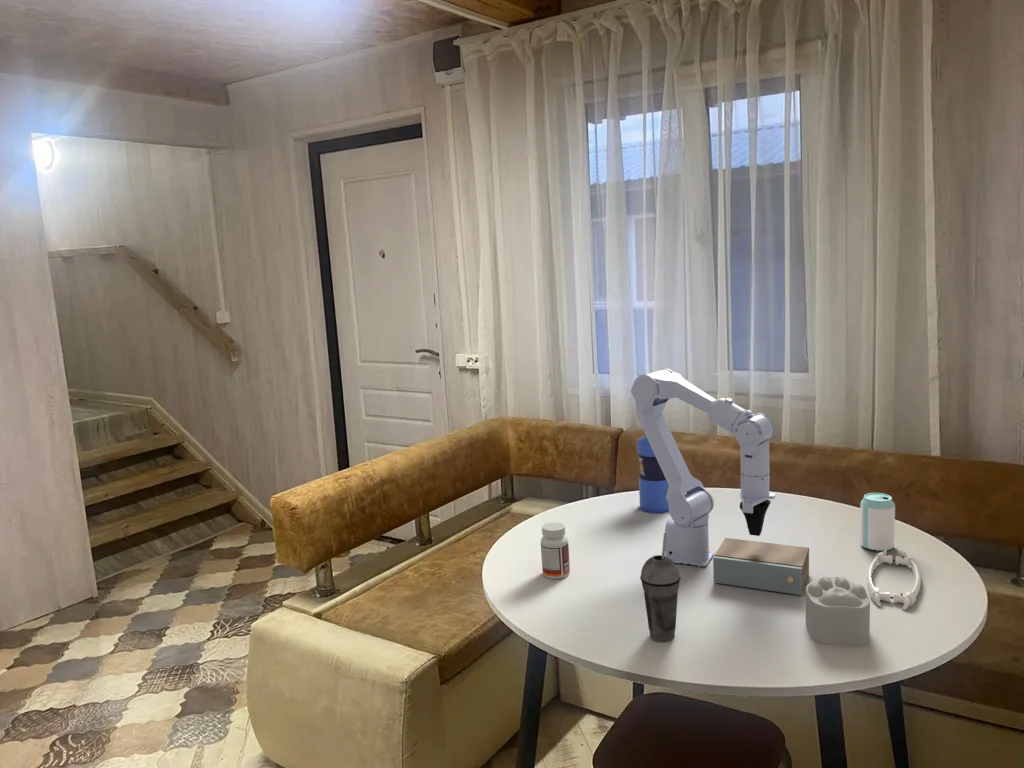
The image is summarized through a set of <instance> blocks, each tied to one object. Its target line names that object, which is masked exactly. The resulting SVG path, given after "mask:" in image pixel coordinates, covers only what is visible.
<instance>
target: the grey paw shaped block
mask: <svg viewBox="0 0 1024 768" xmlns="http://www.w3.org/2000/svg"><path fill="white" fill-rule="evenodd" d="M805 586H806V587H805V627H806V630H807V632H808V635H809V637H810V638H811V639H812V640H813V641H815V642H816V643H818V644H821V645H822V644H823V645H826V646H827V645H828V646H838V645H839V646H840V645H841V646H848V647H849V646H851V647H864V646H866V645H867V644H869V642H870V625H871V623H870V622H871V621H870V620H871V619H870V618H871V617H870V616H871V615H870V614H871V601H870V598H869V597H870V596H869V595H868V593H867V591H866V590H867V589H866V588H865V587H864V586H863V585H861V584H857V583H855V582H852V581H850V580H848V579H847V578H845V577H843V576H822V577H819V578H815V579H813V580H812V581H810V582H809V583H808V584H807V585H805Z"/></svg>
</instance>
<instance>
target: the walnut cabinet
mask: <svg viewBox="0 0 1024 768" xmlns="http://www.w3.org/2000/svg"><path fill="white" fill-rule="evenodd" d="M714 556H718V557H726V558H733V559H741V560H749V561H756V562H764V563H772V564H779V565H787V566H795V567H802V594H803V593H804V590H805V588H806V587H805V586H806V584H807V582H806V581H808V579H809V576H810V547H805V546H798V545H791V544H780V543H774V542H773V543H771V542H764V541H763V542H762V541H757V540H747V539H739V538H729V537H724V540H722V543H721V544H720V546H719V547H718V549H717V550H716V552H714ZM808 575H809V576H808ZM807 578H808V579H807Z"/></svg>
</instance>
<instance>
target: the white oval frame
mask: <svg viewBox="0 0 1024 768" xmlns="http://www.w3.org/2000/svg"><path fill="white" fill-rule="evenodd" d="M887 554H888V551H887V550H884V551H883V552H878V553H877V554H876V555H875V556H874V557H873V560H872V561H871V563H870V565H869V567H868V570H867V573H866V574H867V575H866V582H867V588H868V594H869V595H868V596H869V597H870V598H871V600H872V602H874V601H875V604H876V605H877V606H878V607H879V606H880V607H879V608H881V607H882V603H881V601H884V602H886V603H889V602H891V600H893V604H903V606H902V609H903V610H902V611H906V610H907V609H908V608H909V607H910V606H911V607H912V606H913V605H914V604H915V603H916V602H917V596H918V594H919V592H920V589H921V583H922V581H921V574H920V570H919V568H918V566H917V562H916V560H915V559H914V558H913V557H912V555H910V554H908V553H907V552H906V551H903V555H904V556H903V555H902V556H900V555H895V559H894V558H893V554H892V555H891V554H889V555H887ZM883 562H884V563H885V564H888V565H891V564H892V565H893V562H895V566H900V565H899V564H901V566H906V567H907V566H911V568H912V569H913V571H914V573H913V575H914V574H915V576H914V578H915V577H916V579H915V584H914V587H913V588H912V590H911V591H905V594H903V593H901V592H900V593H899V594H898V593H897V592H893V596H891V592H890V591H886V592H884V591H883V592H882V591H880V587H878V586H877V587H876V586H874V582H873V579H872V578H873V575H872V573H873V574H874V572H873V570H874V568H875V567H876V565H877V564H878V563H883ZM884 563H883V564H884ZM876 568H877V567H876ZM911 568H910V569H911ZM874 571H875V570H874ZM913 571H912V572H913ZM871 576H872V577H871Z"/></svg>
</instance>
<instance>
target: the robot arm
mask: <svg viewBox="0 0 1024 768" xmlns="http://www.w3.org/2000/svg"><path fill="white" fill-rule="evenodd" d="M630 393H631V395H632V398H633V400H634V401H635V402H634V405H635V415H636V417H637V419H638V422H639V424H640V426H641V429H642V431H643V432H644V434H645V435H646V437H647V439H648V441H649V443H650V446H651V448H652V450H653V452H654V454H655V456H656V459H657V461H658V463H659V465H660V467H661V469H662V472H663V474H664V476H665V478H666V480H667V482H668V484H669V488H668V492H667V495H666V499H667V501H668V504H669V512H668V513H669V515H670V518H669V519H668V520H667V521H666V524H665V528H664V533H667V535H666V546H665V556H666V557H668V558H670V559H671V560H672V561H673V562H677V563H676V564H680V563H683V564H682V565H687V564H691V565H690V566H695V565H697V566H696V567H702V566H703V568H705V566H706V567H707V566H708V564H709V563H710V561H711V559H713V557H714V556H715V552H714V551H711V550H710V549H709V548H710V547H709V546H710V545H709V544H710V543H709V517H710V516H709V514H710V513H712V511H713V510H714V505H715V503H714V498H713V496H712V494H711V493H710V492H709V491H708V490H707V489H706V488H705V487H704V485H703V483H702V481H701V480H699V479H697V478H695V477H694V476H692V474H691V472H690V469H689V468H688V465H687V463H686V461H685V460H684V457H683V454H682V453H681V451H680V448H679V447H678V445H677V442H676V439H675V438H674V436H673V434H672V432H671V430H670V428H669V425H668V423H667V421H666V418H665V417H664V414H663V413H664V411H665V407H666V404H667V403H668V402H669V401H670V399H678V400H680V401H682V402H684V403H686V404H689V405H691V406H692V407H694V408H696V409H698V410H701V411H702V412H704V413H707V415H708V420H709V421H710V422H712V423H713V424H714V425H717V426H719V427H720V428H722V429H724V430H725V431H727V432H729V433H730V434H732V435H734V437H735V439H736V440H737V443H739V451H740V491H739V497H740V499H741V501H740V503H739V508H740V511H741V512H742V514H743V515H744V518H745V521H746V525H747V529H748V533H749V536H756V537H760V536H761V534H762V531H763V526H764V521H765V517H766V513H767V511H768V508H769V506H770V505H771V500H775V498H776V493H774V492H771V491H770V439H771V438H772V437H773V435H774V432H775V427H774V426H775V425H774V423H773V421H772V419H770V418H769V417H768V416H767V415H766V414H764V413H753V411H752V410H750V409H744V407H741V406H739V405H737V404H736V403H734V400H733V399H732V398H730V397H727V398H725V397H720V398H717V399H715V398H714V397H712V395H709V394H707V393H706V392H704V391H703V390H701V389H700V388H698V386H697V387H696V386H695V385H694V384H692V383H691V382H689V381H687V380H686V379H684V377H683V376H682V374H680V373H677V372H675V371H673V370H672V369H670V368H666V367H664V368H661V369H658V370H656V371H653V372H648V373H646V374H645V373H644V374H640V375H638V376H637V377H636V378H635V380H634V381H633V384H632V387H631V390H630ZM645 435H644V436H645Z"/></svg>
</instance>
